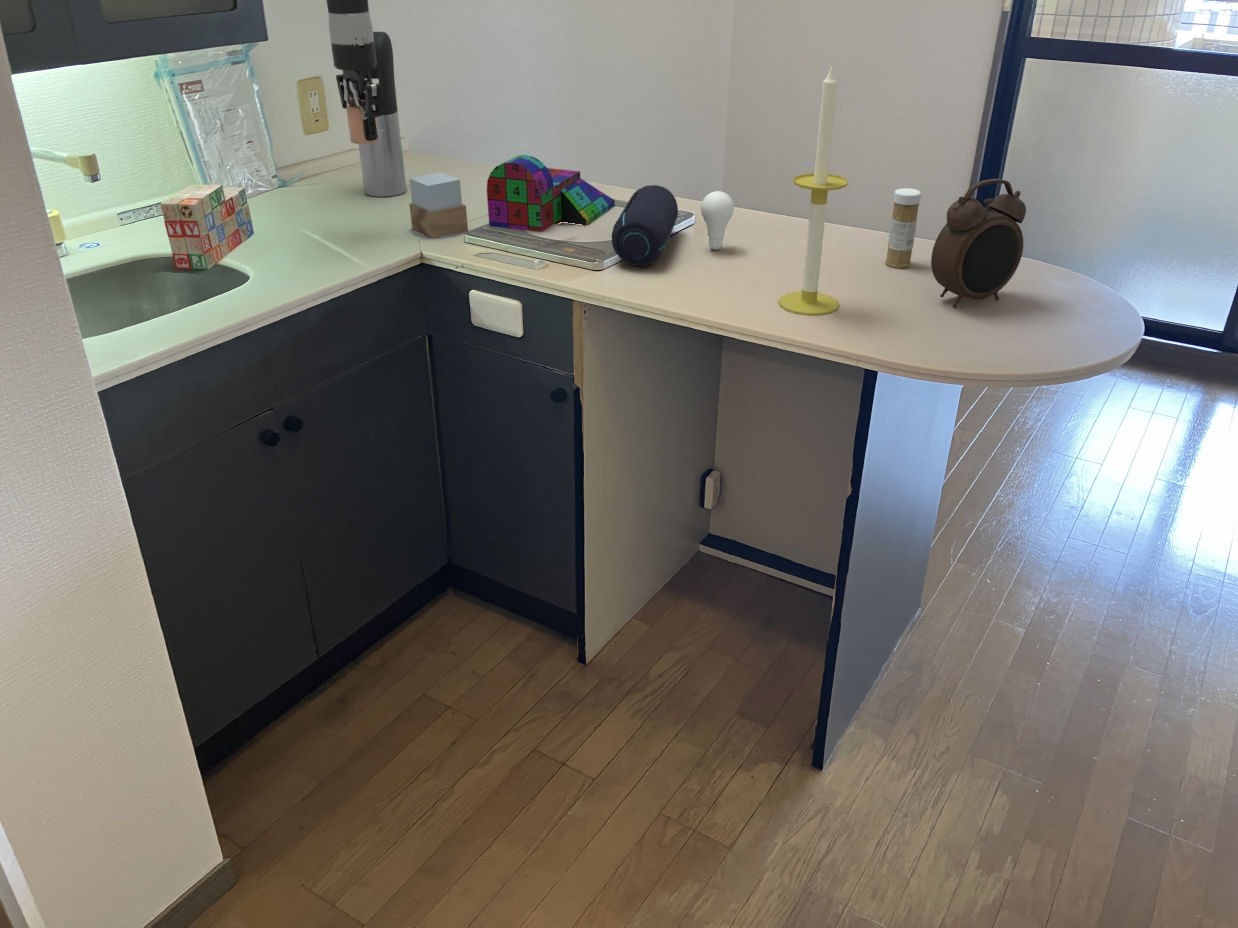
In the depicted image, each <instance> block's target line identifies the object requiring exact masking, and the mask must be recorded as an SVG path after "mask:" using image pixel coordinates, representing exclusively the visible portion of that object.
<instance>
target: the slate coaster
mask: <svg viewBox="0 0 1238 928" xmlns="http://www.w3.org/2000/svg"><path fill="white" fill-rule="evenodd" d="M465 233H467V231H464V232H459V233H455V234H450V235H446V236H441V237H437V238H433V239H432V238H430V237H428V236H426V235H424V234H422V233H420V232H418V231H416V230H414V229H412V228H411V234H413V236H416V237H418V238H421V239H432V240H436V239H437V240H438V239H449V238H455V237H459V236H461V235H464V234H465Z"/></svg>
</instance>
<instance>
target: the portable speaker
mask: <svg viewBox="0 0 1238 928" xmlns="http://www.w3.org/2000/svg"><path fill="white" fill-rule="evenodd" d="M678 207H679V206H678V203H677V199H676V197H675V195H674V194H673V193H672V192H671V191H670V190H669V189H668V188H665V187H664V186H661V185H655V184H650V185H645V186H642V187H641V188H638V189H637V190H636V191H634V193H633V194H632V195H631V197H630V198H629V200H628V202H627V203H626V205H625V206H624V208H623V210H622V211H621V214H620V215H619V216H618V219H617V220H616V222H615V223H614V224H613V228H612V232H611V245H612V248H613V250H614V252H615V254H616V255H617V256H618V257H619V259H621V260H622V261H624V262H625V263H627V264H629V265H631V266H635V267H636V266H637V267H643V266H648V265H650V264H652V263H654V262H656V261H657V259H658V258H659V257H660V256H661V255H662V254H663V253H664V250H665V248H666V246H667V244H668V241H669V239H670V236H671V235H672V232H673V230H674V227H675V225H676V222H677V219H678V215H679V208H678Z"/></svg>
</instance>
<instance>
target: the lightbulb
mask: <svg viewBox="0 0 1238 928" xmlns="http://www.w3.org/2000/svg"><path fill="white" fill-rule="evenodd" d="M734 211H735V204H734V201H733V199H732V198H731V196H730V195H729V194H728V193H726V192H724V191H719V190H715V191H712V192H710V193H708V194H707V195H706V196H705V197H704V198H703V199H702V201H701V204H700V213H701V216H702V218H703V220H704V223H705V224H706V228H707V236H708V247H709V248H711V249H712V250H714V251H717V250H719V249H721V248H722V247H723V242H724V237H725V233H726V228H727V226H728V223H729V222H730V220H731V218H732V216H733V214H734Z"/></svg>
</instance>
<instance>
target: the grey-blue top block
mask: <svg viewBox="0 0 1238 928" xmlns="http://www.w3.org/2000/svg"><path fill="white" fill-rule="evenodd" d="M409 184H410V185H409V186H410V187H409V188H410V194H411V203H412V204H413V205H416V206H418V207H420V208H422V209H425V210H427V211H429V212H433V211H438V210H443V209H447V208H452V207H457V206H461V205H462V204H463V202H462V200H463V199H462V189H461V179H459V178H457V177H454V176H451V175H449V174H446V173H445V172H436V173H430V174H426V175H420V176H416V177H410V178H409Z"/></svg>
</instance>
